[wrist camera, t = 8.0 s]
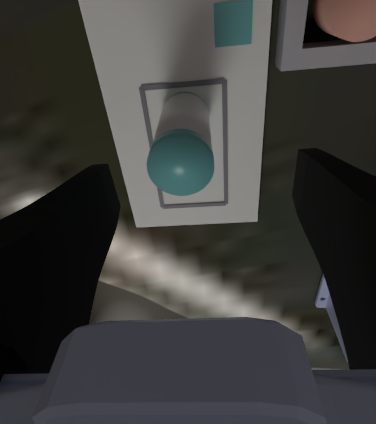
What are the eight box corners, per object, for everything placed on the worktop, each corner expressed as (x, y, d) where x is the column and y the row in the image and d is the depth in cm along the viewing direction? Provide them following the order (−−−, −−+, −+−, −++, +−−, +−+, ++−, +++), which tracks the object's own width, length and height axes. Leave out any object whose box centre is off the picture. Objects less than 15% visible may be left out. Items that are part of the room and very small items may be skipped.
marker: (210, 136, 20) (214, 194, 14) (163, 138, 20) (151, 196, 15) (209, 87, 18) (214, 134, 12) (158, 90, 18) (141, 137, 13)
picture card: (256, 217, 24) (257, 222, 24) (137, 223, 25) (136, 228, 25) (272, -33, 15) (275, -34, 14) (78, -11, 16) (74, -10, 15)
